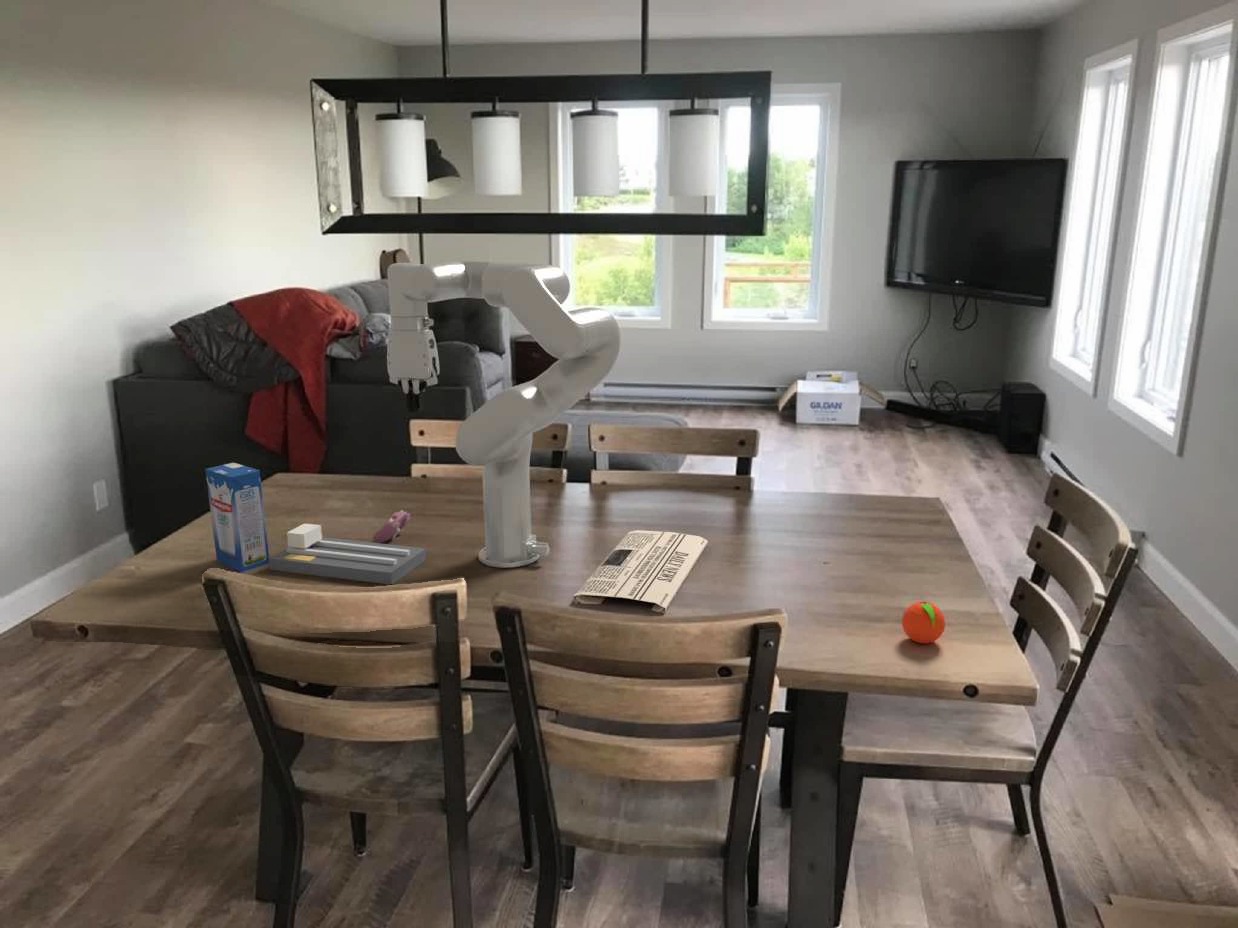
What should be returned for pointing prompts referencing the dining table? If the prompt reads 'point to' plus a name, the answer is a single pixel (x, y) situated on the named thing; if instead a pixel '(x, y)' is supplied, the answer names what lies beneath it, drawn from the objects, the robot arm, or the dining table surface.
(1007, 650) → the dining table surface
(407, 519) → the video game controller
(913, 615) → the clementine
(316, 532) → the fader knob
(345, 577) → the fader console
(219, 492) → the milk carton
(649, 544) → the newspaper
